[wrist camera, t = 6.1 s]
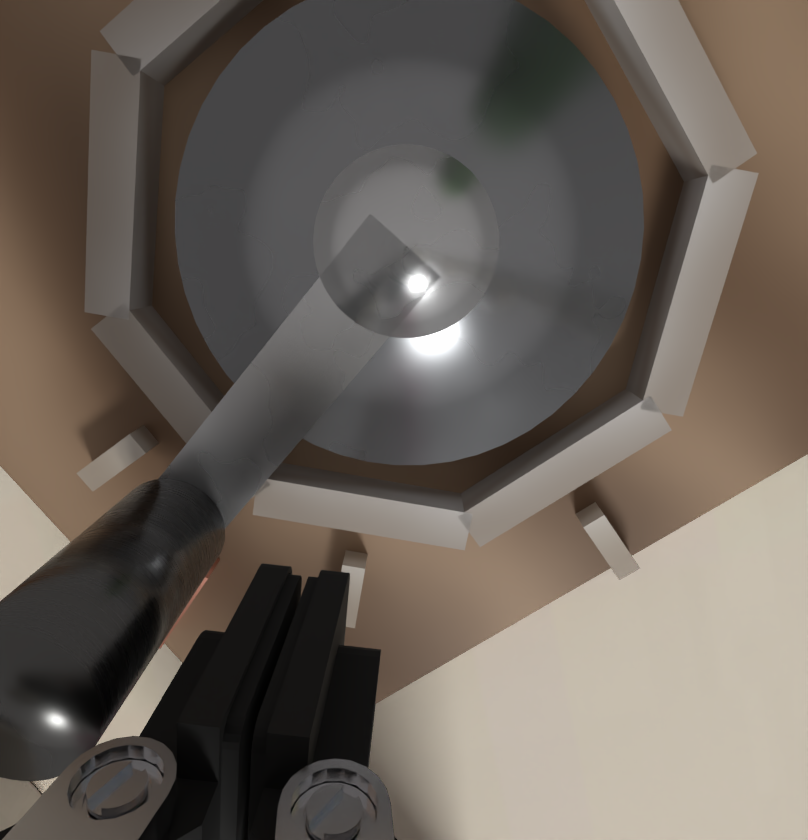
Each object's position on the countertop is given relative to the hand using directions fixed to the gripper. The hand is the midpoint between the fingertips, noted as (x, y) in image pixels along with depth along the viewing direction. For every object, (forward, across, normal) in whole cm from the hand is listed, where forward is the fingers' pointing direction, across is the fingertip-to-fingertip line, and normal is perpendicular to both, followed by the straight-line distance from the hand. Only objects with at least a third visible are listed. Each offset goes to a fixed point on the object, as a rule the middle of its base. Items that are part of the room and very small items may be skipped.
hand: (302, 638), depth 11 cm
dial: (+5, 0, -5) cm, 7 cm away
